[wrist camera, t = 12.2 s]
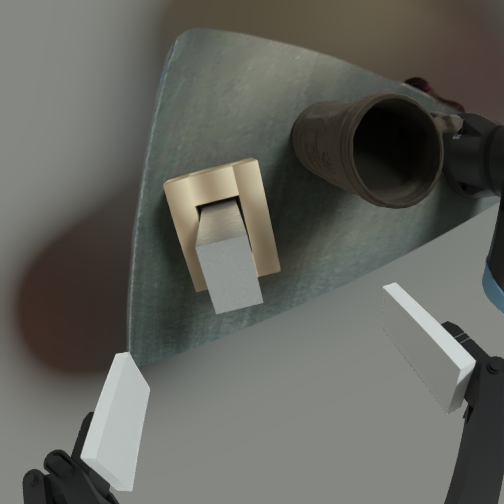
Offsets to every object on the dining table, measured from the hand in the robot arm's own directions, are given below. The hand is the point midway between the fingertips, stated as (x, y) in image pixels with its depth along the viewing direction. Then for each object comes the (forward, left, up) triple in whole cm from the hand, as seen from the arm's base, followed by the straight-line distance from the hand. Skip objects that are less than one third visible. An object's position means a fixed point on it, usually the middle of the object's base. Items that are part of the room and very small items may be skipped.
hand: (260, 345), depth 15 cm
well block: (+1, +1, -29) cm, 29 cm away
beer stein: (-17, -7, -29) cm, 35 cm away
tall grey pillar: (+1, +1, -28) cm, 28 cm away
